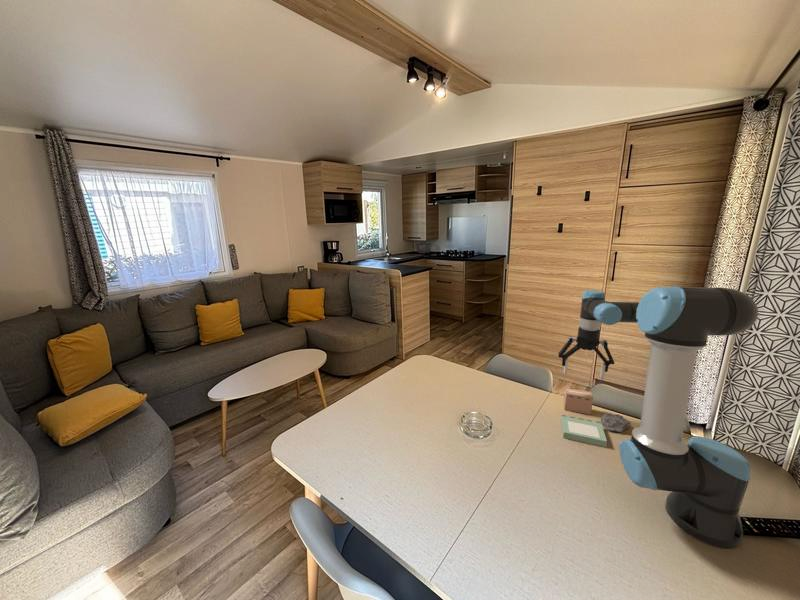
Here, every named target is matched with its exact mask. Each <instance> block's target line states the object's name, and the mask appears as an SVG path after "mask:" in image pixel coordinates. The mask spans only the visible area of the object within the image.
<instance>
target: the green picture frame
mask: <svg viewBox="0 0 800 600" xmlns="http://www.w3.org/2000/svg"><path fill="white" fill-rule="evenodd" d="M560 425H561V432H562V437H563V439H567V440H571V441H576V442H580V443H585V444H589V445H594V446H598V447H603V448H607V444H608V440H607V437H606V434H605V431H604V428H603V425H602V423H601V421H596V420H590V419H586V418H582V417H581V418H580V417H575V416H570V415H565V414H561V415H560Z"/></svg>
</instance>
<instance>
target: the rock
mask: <svg viewBox="0 0 800 600" xmlns="http://www.w3.org/2000/svg"><path fill="white" fill-rule="evenodd" d="M600 422H601V425H602V427H604V428H605V429H606V430H607V431H610V432H618V433H621V434H622V433H624V432H625V431H626V430H628V429H629V428H630V426H631V421H630V420H628V419H626V418H625V417H624V416H623V415H620V414H615V413H611V412H605V413H604V415H602V416H601V417H600ZM627 428H628V429H627Z"/></svg>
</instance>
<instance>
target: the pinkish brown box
mask: <svg viewBox="0 0 800 600" xmlns="http://www.w3.org/2000/svg"><path fill="white" fill-rule="evenodd" d="M593 400H594V397H593V394H592V391H587V390H580V389H574V388H569V387H565V389H564V395H563V410H564V411H569V410H570V411H569V412H576V413H580V414H585V415H590V414H591V415H592V408H593V404H594V402H593Z"/></svg>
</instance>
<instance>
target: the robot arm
mask: <svg viewBox="0 0 800 600" xmlns="http://www.w3.org/2000/svg"><path fill="white" fill-rule="evenodd" d="M605 295H606V293H605V292H604V291H602V290H596V289H587V290H584V291H583V293H582V298H581V306H580V315H579V320H578V321H579V323H578V325H579V327H578V329H577V330H578V331H577V337H572V336H569V337H568V338H567V342H566V343H565V344H564V345H563V346H562V348H561V349H560V350H559V352H558V358H560V359H561V360H562V361H561V366H562V367H563V373H564V375H567V373H568V372H567V371H568V364H569V359H568V358H569V357H571V356H573V354H575V353H576V352H578V351H580V350H584V351H585V350H587V351H593V350H594V352H595V353H596V354H597V356H598V357H599V358H600V359H601V361H602V362H601V368H600V376H599V378H600V380H604V378H605V374H606V373H607V372H608V371H609V366H610V365H615V360H614V358H613V356H612V354H611V352H610V349H609V347H608V341H607V340H606V339H603V340H600V332H601V330H600V329H601V325H602V324H603V325H606V326H612V325H613V326H614V325H616V324H618V323H627V324H628V323H632V324H633V323H635V324H637V327H638V328H639V330H640V331H641V332H643V333H644V338H645V339H646V340H647V341H648V342H649V343H650V350H649V358H648V364H647V366H648V367H647V371H646V381H645V386H644V388H645V389H644V393H643V394H644V396H643V402H642V410H641V415H640V422H639V423H640V424H639V426H638V427H635V428H633V429H632V431H631V438H630V439H629V438H624V439H622V440H621V441H620V442H619V456H620V457H619V458H620V460H621V464H622V467H623V469H624V471H625V473H626V475H627V476H628V478H629V479H630V480H631V482H632V483H633V484H634V485H636V486H638V487H639V488H642V489H643V488H644V489H650V490H652V491H657V490H658V491H664V492H665V491H666V492H669V494H667V497H666V501H665V504H664V506H665V510H666V513H667V515H668V516H669V517H670V518H671V520H672V521H673V522H674V523H675V524H676V525H677V526H679V528H681V529H682V530H683V531H684V532H686V533H688V535H690V536H692V537H694V538H695V539H697V540H699V541H701V542H703V543H706V544H708V545H711V546H713V547H716V548H722V549H735V548H738V547H739V546H740V545H741V544H742V540H743V536H744V531H743V525H742V520H741V517H740V509H741V506H742V503H743V500H744V497H745V494H746V491H747V488H748V485H749V482H750V480H751V471H752V467H751V464H750V462H749V461H748V459H746V457H745V456H743V455H742V454H741V453H740V452H738V451H737V450H736V449H734V448H732V447H730V446H728V445H726V444H725V443H722V442H720V441H718V440H715V439H712V438H709V437H706V436H700V435H699V436H697V435H696V436H691V437H690V439H688V441H687V442H686V441H684V440H683V434H684V428H685V423H686V417H687V411H688V405H689V398H690V392H691V387H692V380H693V373H694V366H695V360H696V355H697V352H698V351H700V350H701V349H703V348H705V347H707V342H708V336H713V337H716V336H719V337H720V336H721V337H722V336H724V337H725V336H733V335H736V334H740V333H743V332H745V331H746V330H748V329H750V328H751V327H752V326H753V325H754V324H755V323H756V322H757V320H758V318H759V317H758V316H759V309H758V305H757V303H756V302H755V301H754V299H752V297H751V296H750V295H748V294H746V293H744V292H742V291H741V290H738V289H733V288H728V287H700V286H699V287H698V286H694V287H692V286H664V287H663V286H662V287H655V288H652V289H650V290H647V292H646V293H645V294H644V295H643V296H642V297H641V298H640V300H639V302H638V301H636V302H635V301H632V302H631V301H608V300H606V296H605ZM575 342H576V344H574V346H573V347H571V348H570V346H571V345H572V344H573V343H575ZM599 345H600V346H601V347H603V348H604V351H605V353H606V355H607V358H608V360H607V358H606V357H605V356H604V355H603V353H602V352H601V351H600V349H599V348H598V346H599ZM569 348H570V349H569ZM568 349H569V350H568ZM687 443H688V444H687Z"/></svg>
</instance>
